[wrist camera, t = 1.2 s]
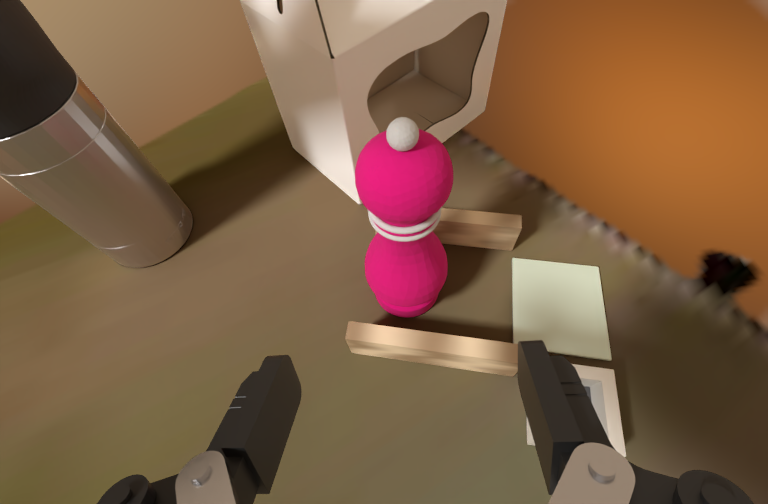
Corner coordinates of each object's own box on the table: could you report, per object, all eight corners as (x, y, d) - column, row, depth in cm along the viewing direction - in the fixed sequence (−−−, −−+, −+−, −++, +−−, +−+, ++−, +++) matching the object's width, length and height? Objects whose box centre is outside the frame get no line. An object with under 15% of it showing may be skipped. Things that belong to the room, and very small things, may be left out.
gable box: (414, 69, 54) (417, -251, 30) (486, 110, 49) (559, -241, 25) (290, 149, 48) (168, -184, 24) (358, 207, 42) (288, -149, 18)
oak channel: (351, 352, 34) (345, 338, 30) (378, 225, 41) (375, 201, 37) (513, 376, 32) (525, 364, 28) (511, 238, 39) (521, 215, 35)
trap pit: (527, 444, 29) (536, 441, 27) (525, 366, 32) (533, 358, 30) (609, 458, 28) (626, 456, 26) (599, 377, 31) (613, 369, 29)
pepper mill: (375, 329, 35) (340, 184, 17) (364, 262, 38) (327, 89, 21) (452, 315, 35) (492, 159, 18) (434, 250, 39) (452, 69, 21)
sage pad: (513, 347, 33) (513, 346, 33) (511, 259, 37) (512, 257, 37) (610, 360, 32) (611, 359, 32) (597, 268, 36) (598, 266, 36)
